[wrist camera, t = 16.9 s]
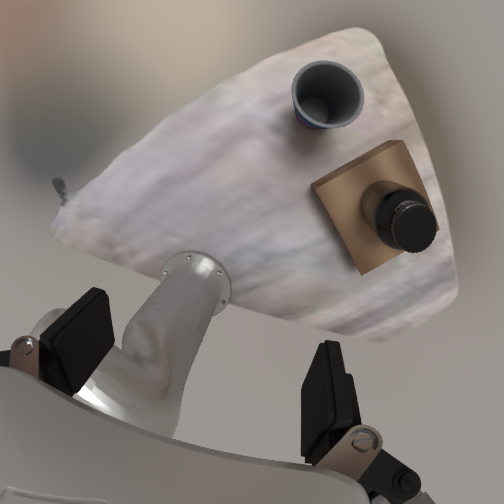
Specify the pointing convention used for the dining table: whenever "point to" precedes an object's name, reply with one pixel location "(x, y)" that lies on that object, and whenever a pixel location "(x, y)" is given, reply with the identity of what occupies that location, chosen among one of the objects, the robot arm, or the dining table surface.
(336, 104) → the cup
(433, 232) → the supplement bottle
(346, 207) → the walnut block
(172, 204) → the dining table surface
